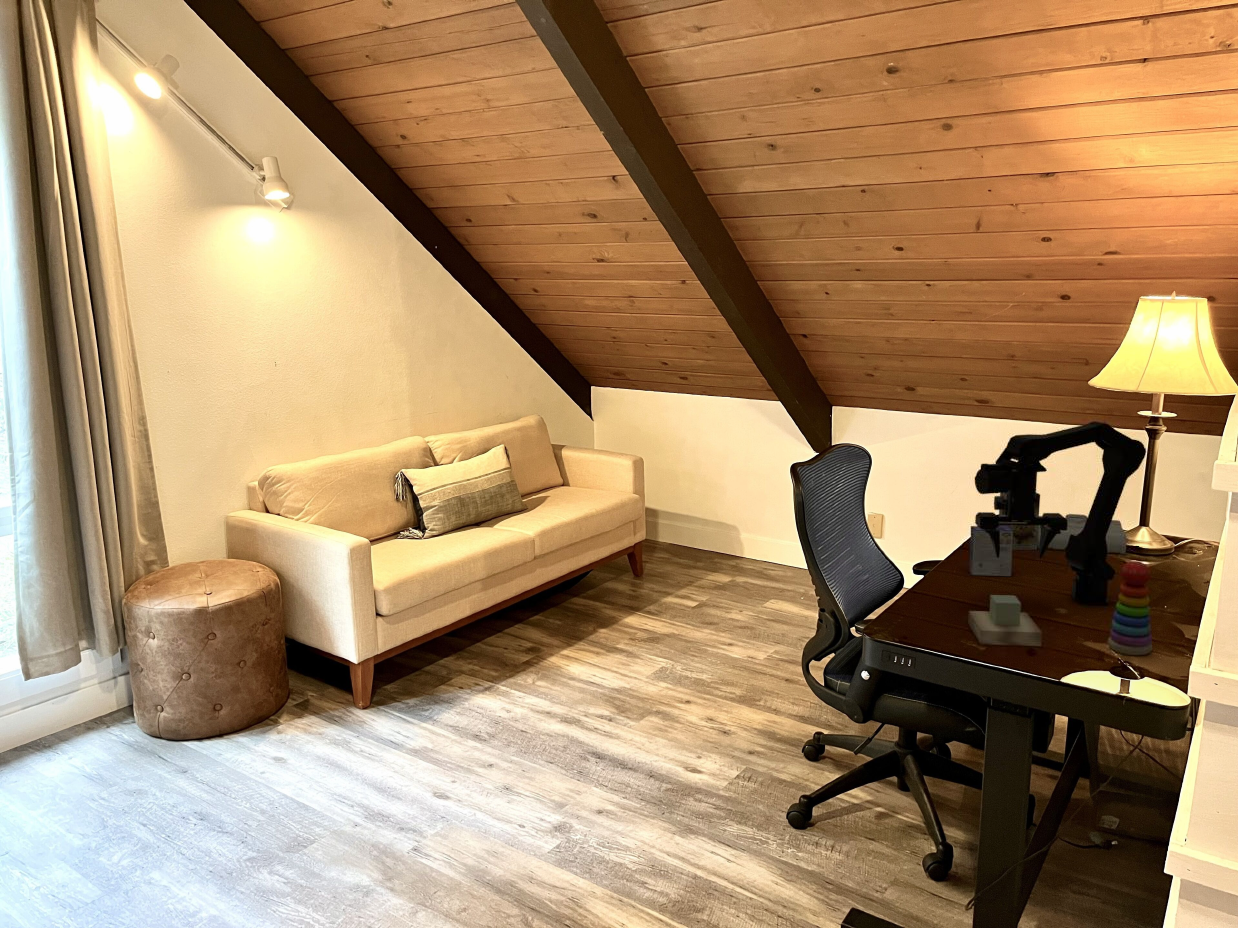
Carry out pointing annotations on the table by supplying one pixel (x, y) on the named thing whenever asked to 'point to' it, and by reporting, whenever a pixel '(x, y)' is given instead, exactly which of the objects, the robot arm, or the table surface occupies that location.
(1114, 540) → the book
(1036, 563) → the table surface
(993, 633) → the birch base block
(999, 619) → the sage cube
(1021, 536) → the coffee box
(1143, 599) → the stacking toy
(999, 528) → the ink cartridge box
